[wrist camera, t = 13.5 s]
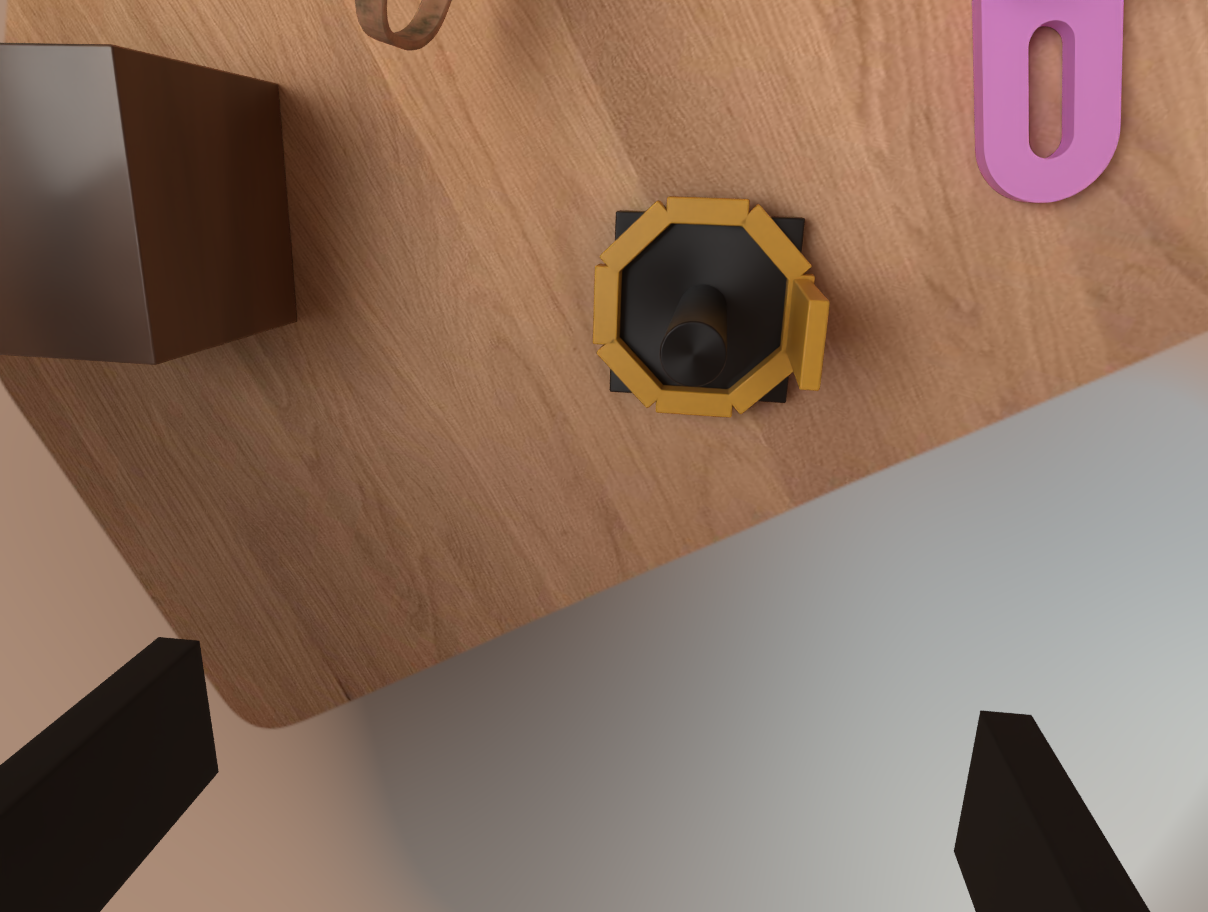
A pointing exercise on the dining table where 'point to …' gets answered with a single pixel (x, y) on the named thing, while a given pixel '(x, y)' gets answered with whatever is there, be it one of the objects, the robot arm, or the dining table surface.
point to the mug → (411, 37)
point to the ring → (799, 323)
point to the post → (703, 304)
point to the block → (137, 205)
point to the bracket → (1089, 94)
